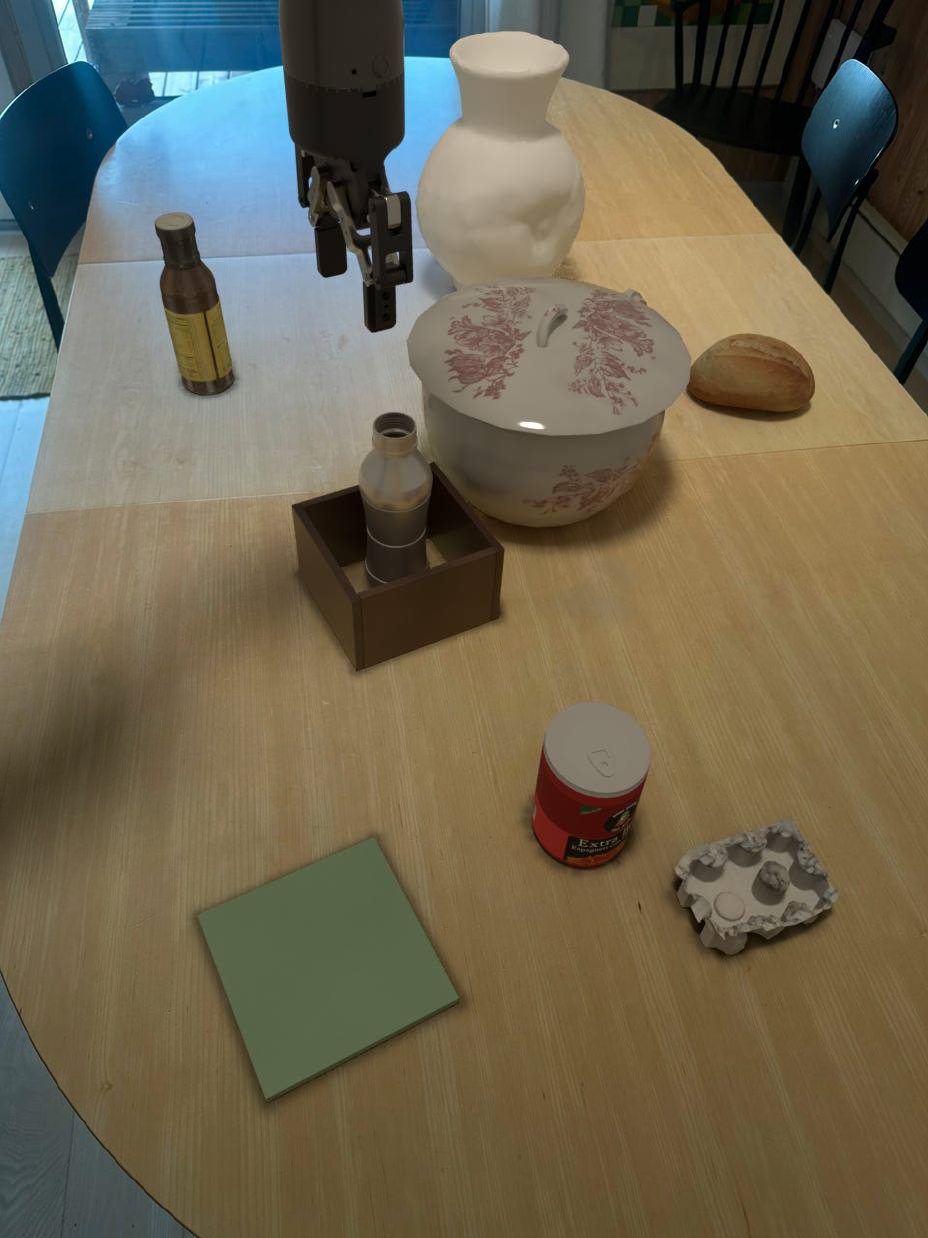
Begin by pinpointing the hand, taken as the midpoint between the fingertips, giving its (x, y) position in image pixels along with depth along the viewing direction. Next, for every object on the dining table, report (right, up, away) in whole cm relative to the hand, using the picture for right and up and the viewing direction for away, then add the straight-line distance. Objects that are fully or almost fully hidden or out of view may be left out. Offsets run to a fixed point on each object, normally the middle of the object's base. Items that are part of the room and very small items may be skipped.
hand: (356, 300), depth 72 cm
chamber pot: (+16, -9, +34) cm, 38 cm away
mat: (-2, -48, -3) cm, 48 cm away
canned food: (+17, -40, +5) cm, 44 cm away
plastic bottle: (+2, -22, +21) cm, 30 cm away
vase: (+12, +22, +61) cm, 66 cm away
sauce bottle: (-23, +5, +44) cm, 50 cm away
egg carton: (+29, -45, +1) cm, 54 cm away
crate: (+2, -21, +21) cm, 30 cm away
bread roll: (+42, +3, +46) cm, 62 cm away
